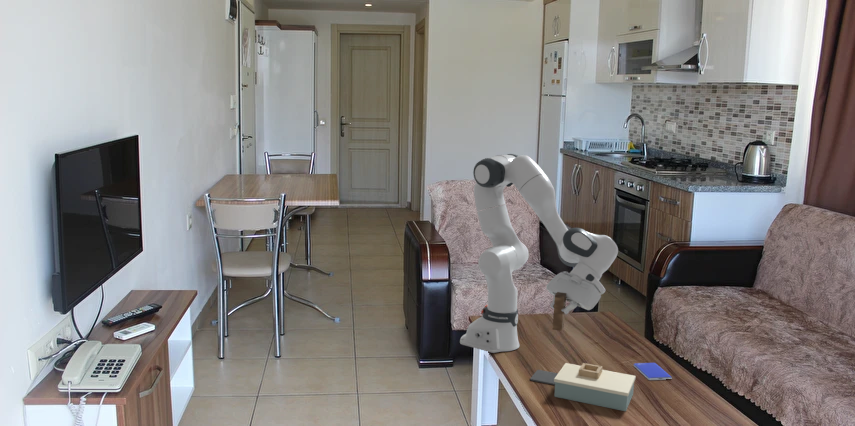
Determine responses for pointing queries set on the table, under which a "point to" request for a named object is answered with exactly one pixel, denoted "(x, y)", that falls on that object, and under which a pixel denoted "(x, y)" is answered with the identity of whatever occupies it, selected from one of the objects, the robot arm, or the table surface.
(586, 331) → the table surface
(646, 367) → the hard drive
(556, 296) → the walnut key
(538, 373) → the key mat
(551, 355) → the table surface
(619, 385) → the cream and teal block
